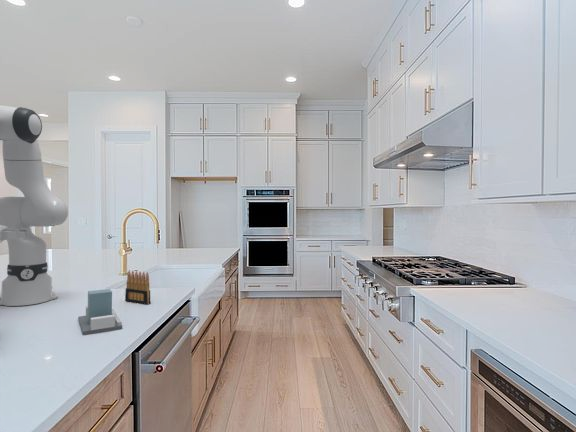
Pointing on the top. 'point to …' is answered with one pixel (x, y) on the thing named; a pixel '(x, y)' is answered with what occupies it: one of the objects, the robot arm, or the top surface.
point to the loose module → (99, 303)
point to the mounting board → (87, 327)
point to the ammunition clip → (137, 288)
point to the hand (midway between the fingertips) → (26, 233)
